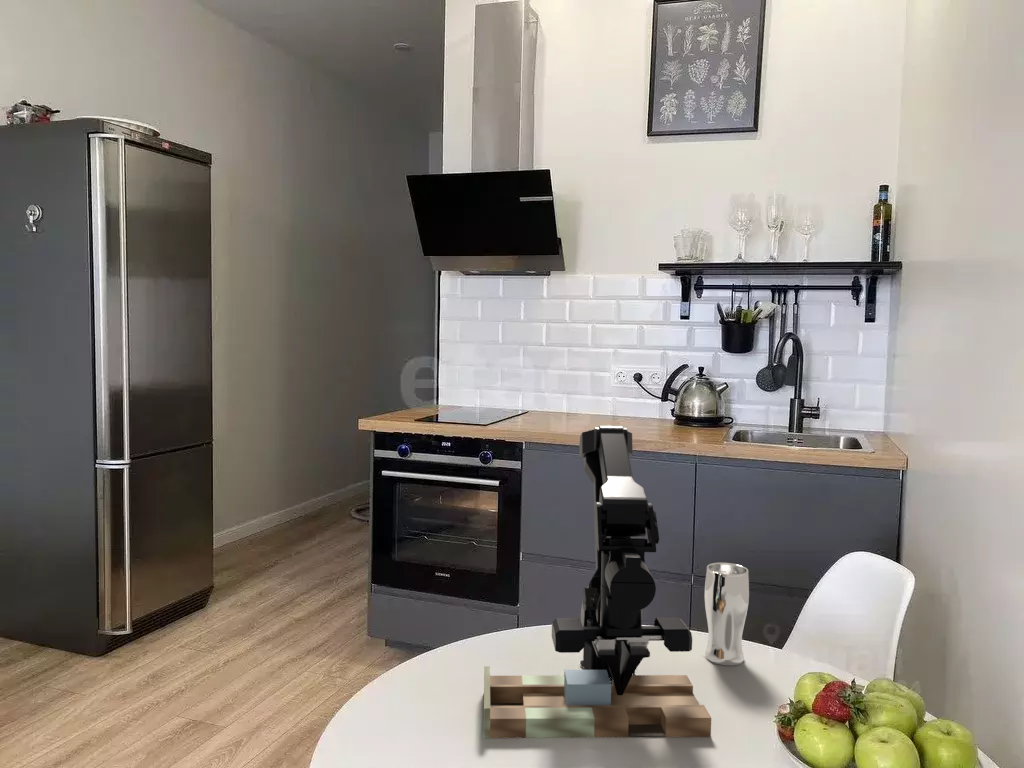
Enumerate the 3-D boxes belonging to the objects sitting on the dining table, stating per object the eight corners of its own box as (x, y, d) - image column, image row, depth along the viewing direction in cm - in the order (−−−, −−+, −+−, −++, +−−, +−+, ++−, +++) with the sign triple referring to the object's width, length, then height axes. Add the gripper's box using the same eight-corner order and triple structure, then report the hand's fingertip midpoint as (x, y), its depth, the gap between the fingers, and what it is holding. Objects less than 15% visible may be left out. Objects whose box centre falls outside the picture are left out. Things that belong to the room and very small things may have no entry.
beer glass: (747, 652, 128) (750, 564, 127) (745, 670, 121) (749, 577, 120) (704, 646, 130) (707, 560, 129) (700, 663, 124) (703, 572, 123)
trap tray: (686, 692, 114) (687, 665, 113) (710, 736, 101) (711, 707, 101) (483, 692, 113) (484, 666, 112) (483, 737, 100) (484, 708, 100)
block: (605, 693, 110) (606, 669, 109) (610, 709, 105) (611, 684, 105) (564, 693, 109) (564, 669, 109) (566, 709, 105) (567, 684, 105)
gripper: (673, 566, 114) (670, 667, 115) (548, 566, 113) (547, 669, 114) (694, 591, 103) (691, 704, 104) (556, 592, 102) (554, 705, 103)
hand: (619, 694), depth 107 cm, fingers closed
